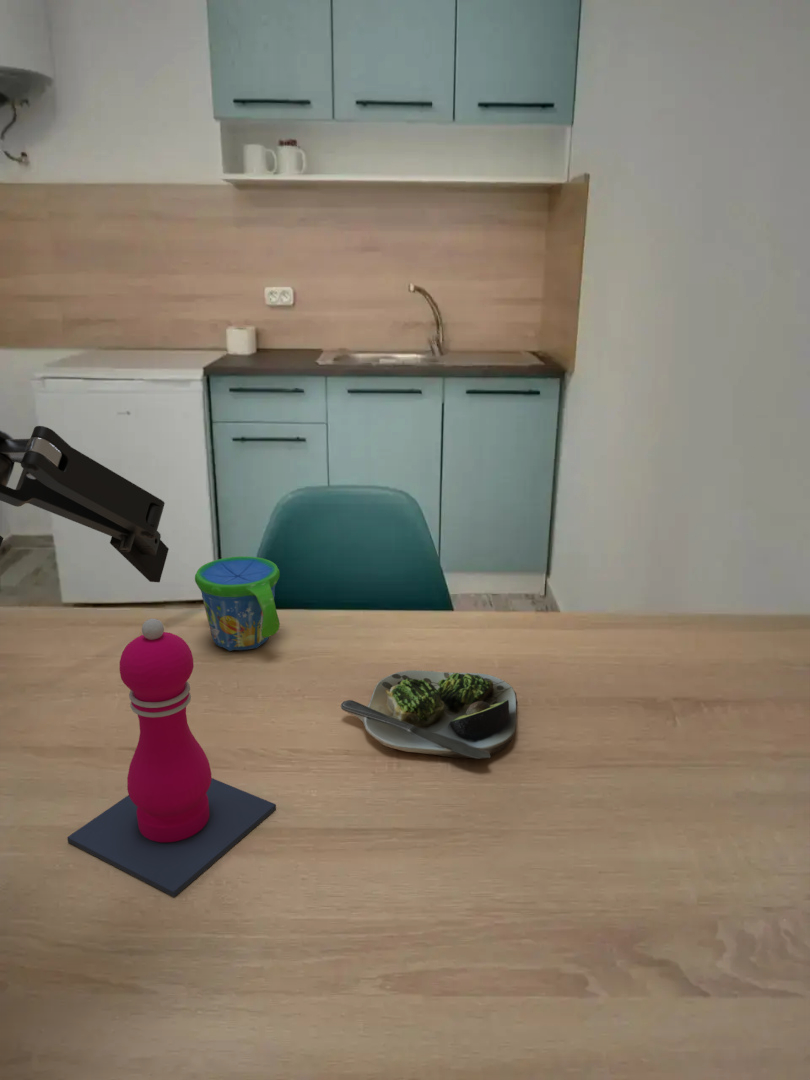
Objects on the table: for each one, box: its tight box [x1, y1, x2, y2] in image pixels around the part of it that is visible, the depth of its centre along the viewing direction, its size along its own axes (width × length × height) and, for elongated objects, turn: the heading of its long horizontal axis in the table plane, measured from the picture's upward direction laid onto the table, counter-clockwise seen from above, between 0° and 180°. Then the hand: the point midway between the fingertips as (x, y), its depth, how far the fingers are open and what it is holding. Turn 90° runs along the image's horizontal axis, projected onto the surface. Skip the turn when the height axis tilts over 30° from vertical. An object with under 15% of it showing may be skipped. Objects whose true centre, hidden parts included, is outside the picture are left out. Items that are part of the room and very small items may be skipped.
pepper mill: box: [119, 618, 213, 842], centre depth 72 cm, size 7×7×20 cm
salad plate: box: [340, 669, 519, 760], centre depth 91 cm, size 19×18×5 cm
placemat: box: [66, 777, 277, 898], centre depth 75 cm, size 13×13×1 cm
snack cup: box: [194, 555, 281, 652], centre depth 109 cm, size 16×10×10 cm
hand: (75, 559), depth 62 cm, fingers open, 13 cm apart
